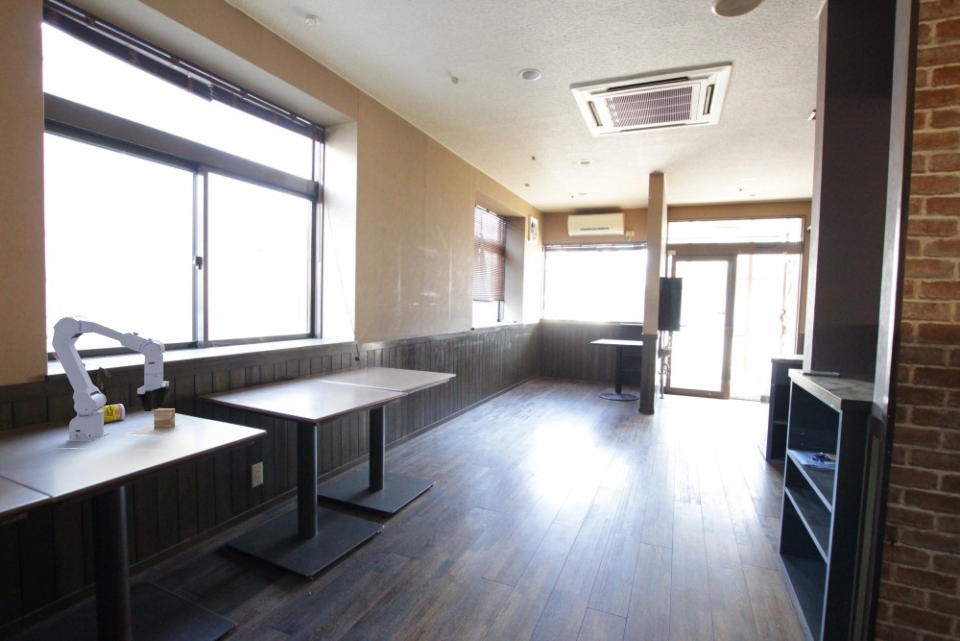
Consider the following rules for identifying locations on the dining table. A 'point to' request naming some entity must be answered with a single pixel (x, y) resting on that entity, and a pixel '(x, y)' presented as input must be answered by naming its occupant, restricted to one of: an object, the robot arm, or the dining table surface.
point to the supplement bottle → (113, 412)
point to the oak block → (164, 418)
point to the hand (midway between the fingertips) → (153, 408)
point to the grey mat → (152, 430)
